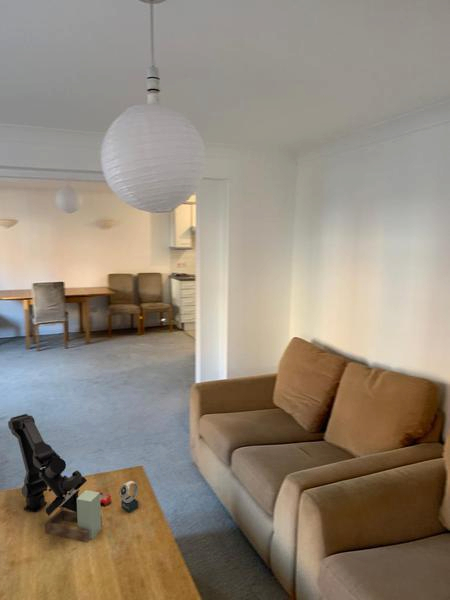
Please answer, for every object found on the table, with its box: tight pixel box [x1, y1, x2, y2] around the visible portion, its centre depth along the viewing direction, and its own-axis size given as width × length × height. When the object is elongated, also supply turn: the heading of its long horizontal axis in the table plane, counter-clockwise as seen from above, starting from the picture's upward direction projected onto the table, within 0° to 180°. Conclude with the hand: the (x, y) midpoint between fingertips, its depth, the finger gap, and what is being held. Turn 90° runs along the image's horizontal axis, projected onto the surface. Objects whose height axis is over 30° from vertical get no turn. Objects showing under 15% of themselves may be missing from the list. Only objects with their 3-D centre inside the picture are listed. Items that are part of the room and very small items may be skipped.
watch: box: [118, 480, 139, 513], centre depth 176 cm, size 6×8×11 cm
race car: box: [93, 490, 112, 507], centre depth 181 cm, size 13×5×4 cm, turn 77°
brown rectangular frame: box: [44, 507, 103, 543], centre depth 163 cm, size 18×10×4 cm, turn 74°
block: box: [77, 489, 102, 540], centre depth 161 cm, size 6×6×15 cm
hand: (81, 512), depth 161 cm, fingers closed, pressing on block
